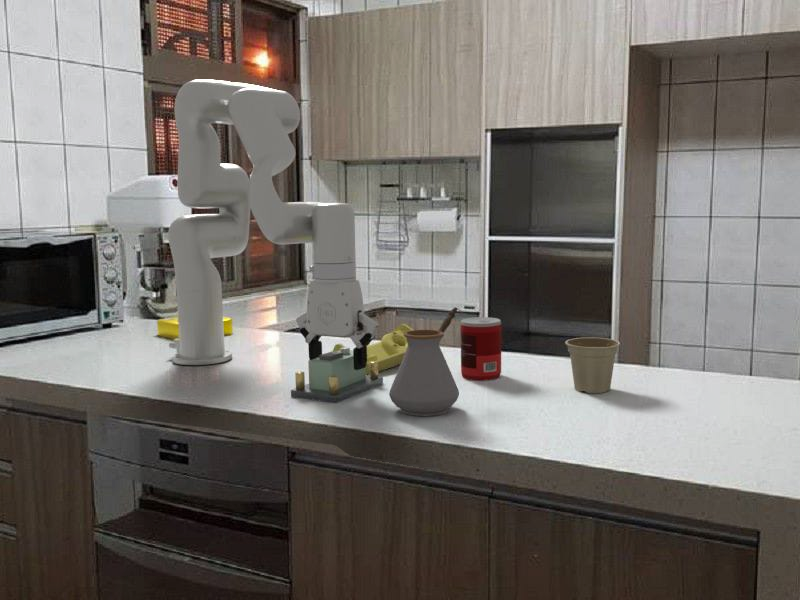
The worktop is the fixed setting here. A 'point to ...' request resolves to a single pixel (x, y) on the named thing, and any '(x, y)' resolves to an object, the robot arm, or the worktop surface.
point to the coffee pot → (425, 374)
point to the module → (334, 369)
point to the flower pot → (592, 363)
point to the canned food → (481, 348)
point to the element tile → (171, 327)
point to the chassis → (336, 386)
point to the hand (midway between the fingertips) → (337, 366)
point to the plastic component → (386, 349)
